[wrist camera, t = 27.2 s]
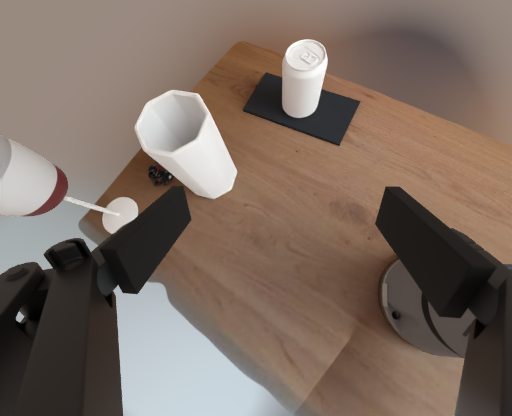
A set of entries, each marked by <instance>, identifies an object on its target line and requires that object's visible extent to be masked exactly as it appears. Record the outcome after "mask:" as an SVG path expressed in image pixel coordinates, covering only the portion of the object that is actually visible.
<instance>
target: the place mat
mask: <svg viewBox="0 0 512 416" xmlns="http://www.w3.org/2000/svg"><path fill="white" fill-rule="evenodd" d="M359 103H360V101H358V100H354V99H351V98H348V97H344V96H341V95H338V94H335V93H331V92H328V91H325V90H322V89H321V93H320V97H319V102H318V106H317V108H316V110H315V111H314V112H313V113H312V114H311V115H309V116H307V117H303V118H295V117H292V116H290V115H288V114H287V113H286V112H285V111H284V109H283V107H282V77H279V76H276V75H272V74H269V73H265V75H264V76H263V78H262V79H261V81H260V83H259V84H258V86H257V88H256V89H255V91H254V92H253V94H252V96H251V97H250V99H249V101H248V102H247V104H246V106H245V107H244V109H243V111H245V112H248V113H250V114H253V115H256V116H259V117H261V118H264V119H267V120H270V121H272V122H275V123H278V124H281V125H283V126H286V127H289V128H292V129H294V130H297V131H300V132H303V133H305V134H308V135H311V136H314V137H316V138H319V139H322V140H325V141H327V142H330V143H333V144H336V145H338V146H339V145H340V143H341V141H342V139H343V136H344V134H345V132H346V130H347V128H348V126H349V124H350V122H351V120H352V118H353V116H354V114H355V111H356V109H357V107H358V105H359Z"/></svg>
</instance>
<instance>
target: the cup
mask: <svg viewBox="0 0 512 416" xmlns="http://www.w3.org/2000/svg"><path fill="white" fill-rule="evenodd" d="M134 130H135V132H136V134H137V137H138V139H139V141H140V144H141V146H142V149H143V150H144V151H145V152H146V153H147V154H148V155H150V156H151V157H152V158H153V159H154V160H156V161H157V162H158V163H159V164H160V165H162V166H163V167H164V168H165V169H166V170H168V171H169V172H170V173H171V174H172V175H174V176H175V177H176V178H177V179H178V180H179V181H181V182H182V183H183V184H184V185H185V186H187V187H188V188H189V189H190V190H191V191H193V192H194V193H195V194H196V195H199V196H203V197H207V198H211V199H216V198H218V197H219V196H221V195H223V194H225V193H226V192H228V191H230V190H231V189H232V187H233V184H234V181H235V178H236V175H237V170H236V168H235V165H234V163H233V161H232V159H231V157H230V155H229V153H228V150H227V148H226V146H225V144H224V142H223V140H222V137H221V135H220V133H219V131H218V129H217V127H216V125H215V122H214V120H213V118H212V116H211V114H210V112H209V110H208V109H207V107H206V105H205V104H204V102H203V100H202V99H201V97H200V95H199V94H198V93H191V92H185V91H178V90H170V91H168V92H166V93H164V94H163V95H160V96H158V97H157V98H155V99H153V100H151V101H149V102H147V103H146V104H145V107H144V109H143V111H142V113H141V115H140V117H139V119H138V121H137V123H136V125H135V127H134Z"/></svg>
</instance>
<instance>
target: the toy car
mask: <svg viewBox="0 0 512 416" xmlns="http://www.w3.org/2000/svg"><path fill="white" fill-rule="evenodd" d="M147 173H149V178H150V177H152V181H153V184H154V186H157V185H160V184H161V183H163V185H165V184H167V183H168V182H169V181H170V180H171V179H172V177H173V176H172V174H171V173H170V172H169V171H168V170H166V169H165V168H164V167H163V166H162V165H160V164H159V163H158V162H156V163H155V164H154V165H153V166H152V165H151V167H149V170H148V171H147ZM167 180H168V181H167Z"/></svg>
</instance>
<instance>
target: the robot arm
mask: <svg viewBox="0 0 512 416" xmlns="http://www.w3.org/2000/svg"><path fill="white" fill-rule="evenodd" d="M190 221H191V216H190V212H189V208H188V204H187V199H186V195H185V191H184V187H183V186H172V187H171V188H170V189H169V190H168V191H167V192H165V193H164V194H163V195H162V196H161V197H160V198H158V199H157V200H156V201H155V202H154V203H152V204H151V205H150V206H149V207H148V208H147V209H145V210H144V211H143V212H142V213H141V214H140V215H138V216H137V217H136V218H135V219H134V220H132V221H131V222H129V223H127V224H125V225H123V226H122V227H121V228H119V229H118V230H117V231H116V233H113V234H112V235H111V236H110V237H109V238H107V239H106V240H105V241H104V242H103V243H101V244H100V245H99V246H98V247H97V248H95V249H94V250H93V251H92V252H90V250H89V249H88V247H87V245H86V243H85V242H84V240H83V239H80V238H74V239H69V240H66V241H63V242H60V243H58V244H56V245H54V246H52V247H51V248H49V249H48V250H47V251H46V252H45V253H44V256H45V258H46V259H47V260H48V262H49V263H50V264H51V266H52V267H53V268H52V269H47V270H42V269H41V267H40V266H39V265H38V263H36V262H29V263H24V264H21V265H17V266H15V267H12V268H10V269H8V270H7V271H6V272H4V273H2V274H1V275H0V416H123V408H122V391H121V375H120V359H119V343H118V327H117V310H116V296H115V294H114V292H113V290H114V289H115V288H116V287H117V285H119V287H120V289H121V290H122V292H123V293H130V294H138V293H139V291H140V290H141V288H142V287H143V286H144V284H145V283H146V282H147V280H148V279H149V277H150V276H151V275H152V273H153V272H154V271H155V269H156V268H157V266H158V265H159V264H160V262H161V261H162V259H163V258H164V257H165V255H166V254H167V253H168V251H169V250H170V248H171V247H172V246H173V244H174V243H175V241H176V240H177V239H178V237H179V236H180V235H181V233H182V232H183V230H184V229H185V228H186V226H187V225H188V224H189V222H190ZM375 224H376V226H377V227H378V229H379V230H380V232H381V233H382V235H383V236H384V238H385V239H386V240H387V242H388V243H389V245H390V246H391V248H392V249H393V251H394V252H395V253H396V255H397V256H398V259H396V260H394V261H393V262H392V263H390V264H389V265H388V266H387V268H386V269H385V270H384V272H383V274H382V276H381V278H380V282H379V287H378V297H379V303H380V307H381V310H382V312H383V315H384V317H385V319H386V320H387V322H388V323H389V325H390V326H391V327H392V329H393V330H394V331H395V332H396V333H397V334H398V335H399V336H400V337H401V338H403V339H404V340H405V341H407V342H408V343H410V344H412V345H413V346H415V347H417V348H418V349H420V350H422V351H424V352H427V353H430V354H433V355H438V356H445V357H457V358H465V360H464V366H463V371H462V377H461V382H460V388H459V393H458V399H457V404H456V410H455V415H454V416H512V264H502V263H501V262H500V261H498V260H497V259H496V258H495V257H493V256H492V255H491V254H490V253H488V252H487V251H484V249H483V248H482V247H481V246H479V245H478V244H476V242H474V241H473V240H472V239H470V238H469V237H468V236H467V235H465V234H463V233H461V232H459V231H457V230H455V229H453V228H449V227H448V226H446V225H445V224H444V223H443V222H442V221H440V220H439V219H438V218H437V217H435V216H434V215H433V214H432V213H431V212H429V211H428V210H427V209H426V208H425V207H423V206H422V205H421V204H420V203H419V202H417V201H416V200H415V199H414V198H412V197H411V196H410V195H409V194H408V193H406V192H405V191H404V190H403V189H402V188H400V187H386V188H385V191H384V195H383V198H382V202H381V205H380V209H379V212H378V216H377V219H376V223H375ZM19 311H20V312H21V313H22V314H23V315H24V316H25V317H24V318H23V320H22V321H21V322H20V323H19V322H18V321H16V316H17V314H18V312H19Z"/></svg>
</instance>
